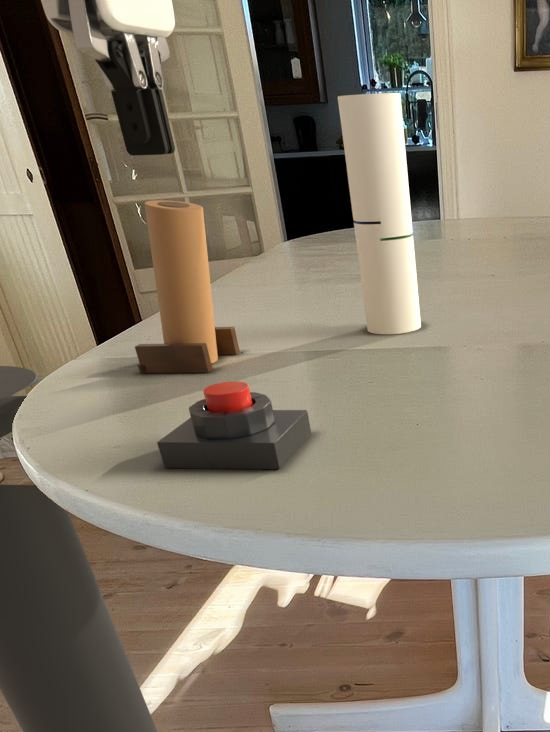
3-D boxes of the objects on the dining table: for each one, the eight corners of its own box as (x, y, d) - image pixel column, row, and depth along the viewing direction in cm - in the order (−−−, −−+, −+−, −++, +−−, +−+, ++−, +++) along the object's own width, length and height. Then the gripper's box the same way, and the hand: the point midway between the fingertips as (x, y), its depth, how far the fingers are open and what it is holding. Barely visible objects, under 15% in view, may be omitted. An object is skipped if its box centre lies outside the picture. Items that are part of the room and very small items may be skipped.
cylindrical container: (377, 321, 102) (350, 97, 87) (427, 321, 100) (408, 93, 86) (360, 334, 96) (328, 96, 82) (412, 334, 95) (389, 92, 80)
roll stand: (240, 352, 91) (234, 326, 90) (208, 373, 84) (201, 345, 82) (176, 352, 92) (169, 327, 91) (139, 373, 85) (131, 346, 83)
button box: (164, 468, 61) (149, 420, 58) (207, 433, 67) (195, 389, 65) (279, 469, 59) (269, 420, 57) (311, 434, 66) (303, 389, 63)
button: (201, 416, 60) (195, 394, 59) (219, 402, 63) (214, 381, 62) (242, 416, 59) (237, 394, 58) (259, 402, 62) (255, 381, 61)
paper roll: (225, 355, 90) (212, 205, 81) (205, 369, 85) (187, 211, 76) (180, 348, 90) (161, 197, 81) (157, 361, 86) (133, 203, 76)
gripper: (81, -156, 53) (155, 151, 64) (-76, -232, 41) (48, 162, 52) (178, -166, 52) (237, 148, 62) (47, -246, 40) (147, 158, 51)
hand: (152, 153), depth 57 cm, fingers closed
